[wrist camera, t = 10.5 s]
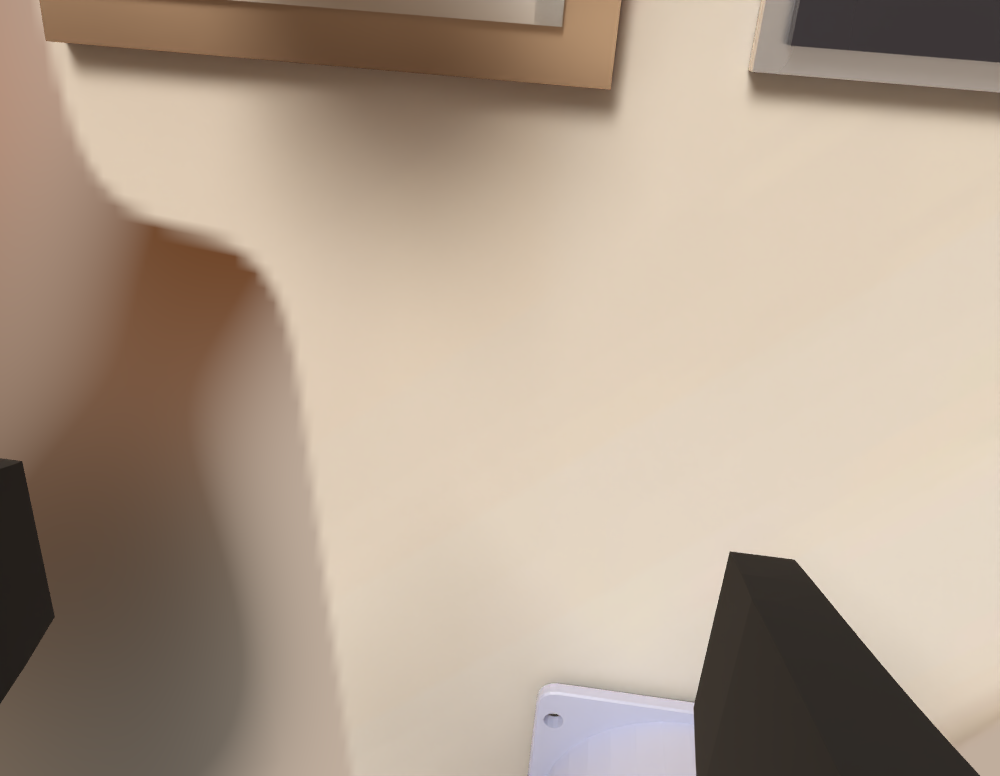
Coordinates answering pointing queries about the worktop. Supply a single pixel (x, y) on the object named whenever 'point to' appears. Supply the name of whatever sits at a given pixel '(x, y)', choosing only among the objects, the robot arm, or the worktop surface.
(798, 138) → the worktop surface
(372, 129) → the worktop surface
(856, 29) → the pad
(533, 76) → the board
